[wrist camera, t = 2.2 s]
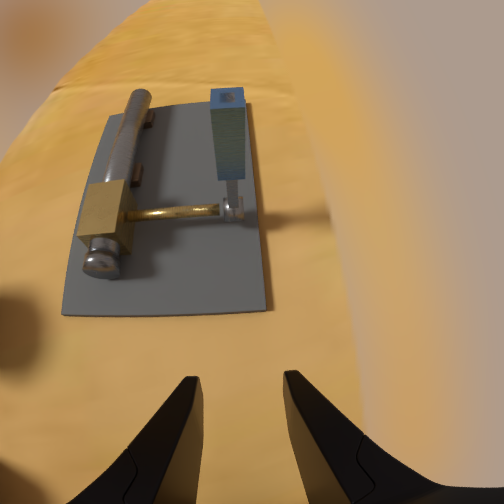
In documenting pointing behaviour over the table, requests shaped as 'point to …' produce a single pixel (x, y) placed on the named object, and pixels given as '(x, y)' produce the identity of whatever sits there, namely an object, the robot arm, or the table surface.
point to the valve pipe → (123, 197)
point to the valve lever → (229, 145)
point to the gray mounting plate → (175, 230)
